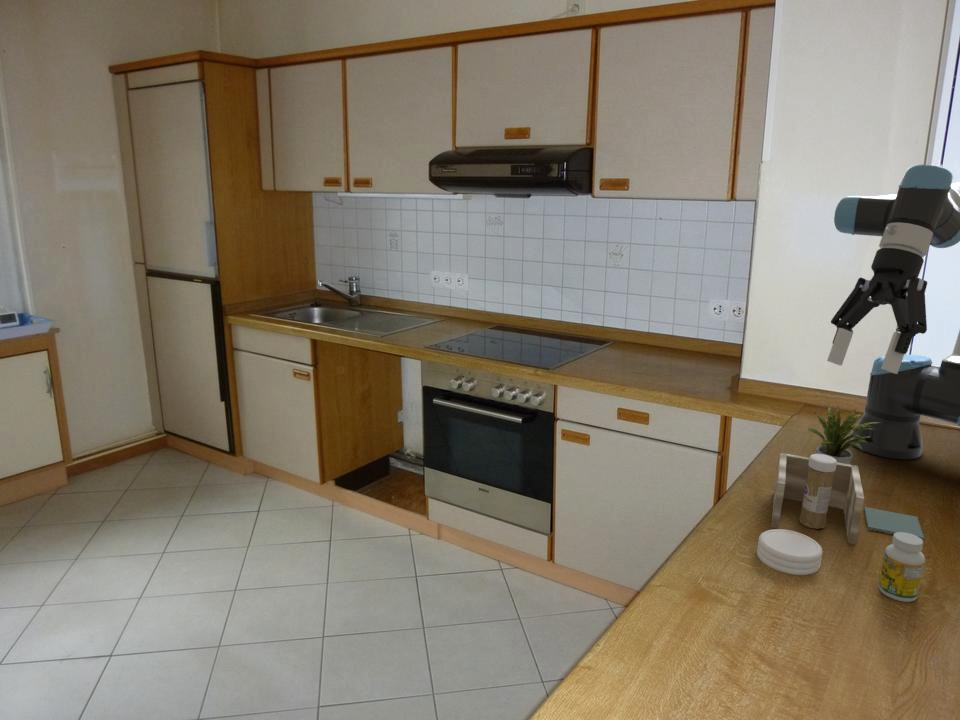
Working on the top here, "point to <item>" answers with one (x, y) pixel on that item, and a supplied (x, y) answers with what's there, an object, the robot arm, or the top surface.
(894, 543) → the supplement bottle
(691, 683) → the top surface
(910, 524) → the felt mat
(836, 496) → the birch box
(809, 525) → the sprinkles bottle
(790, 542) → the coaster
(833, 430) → the house plant
